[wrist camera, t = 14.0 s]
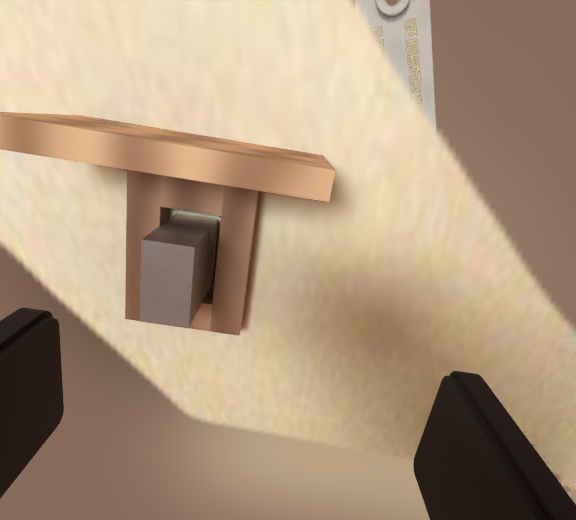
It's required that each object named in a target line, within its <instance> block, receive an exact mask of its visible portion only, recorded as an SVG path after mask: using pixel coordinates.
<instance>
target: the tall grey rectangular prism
mask: <svg viewBox="0 0 576 520" xmlns="http://www.w3.org/2000/svg"><path fill="white" fill-rule="evenodd" d="M217 224H218V219H214V218H207V217H201V216H194V215H187V214H181V213H176V214H175V215H174V216H172V217H171V218H169V219H168V220H167V221H165V222H164V223H163V224H161V225H160V226H159V227H157V228H156V229H155V230H153V231H152V232H151V233H149V234H148V235H147V236H145V237H144V238H143V239H141V282H140V321H142V322H149V323H156V324H163V325H170V326H177V327H184V328H189V327H190V325H191V323H192V321H193V319H194V318H195V316H196V314H197V312H198V310H199V308H200V306H201V304H202V302H203V300H204V299H205V297H206V295H207V293H208V291H209V289H210V287H211V285H212V279H213V268H214V257H215V246H216V235H217Z"/></svg>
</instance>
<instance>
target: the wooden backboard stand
mask: <svg viewBox="0 0 576 520" xmlns="http://www.w3.org/2000/svg"><path fill="white" fill-rule="evenodd" d="M0 149H2V150H8V151H14V152H21V153H27V154H33V155H39V156H46V157H52V158H58V159H64V160H71V161H77V162H83V163H89V164H95V165H102V166H108V167H114V168H120V169H127V227H126V308H125V319H130V320H137V321H140V282H141V239H143V238H144V237H145V236H147V235H148V234H149V233H151V232H152V231H153V230H155V229H156V228H157V227H159V226H160V225H161V224H163V223H164V222H165V221H167V220H168V212H169V208H172V209H178V210H185V211H191V212H197V213H204V214H210V215H217V216H221V222H220V232H219V242H218V252H217V262H216V273H215V283H214V293H207V295H206V297H205V299H204V300H203V302H202V304H201V306H200V308H199V310H198V312H197V314H196V316H195V318H194V319H193V321H192V323H191V325H190V327H189V328H192V329H198V330H205V331H212V332H219V333H226V334H232V335H239V334H240V330H241V327H242V323H243V315H244V308H245V300H246V292H247V285H248V277H249V270H250V262H251V254H252V247H253V239H254V232H255V224H256V216H257V209H258V201H259V193H260V191H264V192H270V193H276V194H282V195H289V196H295V197H301V198H307V199H313V200H320V201H326V202H329V201H330V195H331V190H332V185H333V180H334V175H335V169H334V168H333V167H332V166H331V165H330V163H329V162H328V161H327V160H326V159H325V158H324V157H323V155H317V154H311V153H305V152H299V151H293V150H286V149H280V148H274V147H268V146H262V145H256V144H250V143H244V142H238V141H232V140H226V139H220V138H214V137H208V136H202V135H195V134H189V133H183V132H177V131H171V130H165V129H159V128H153V127H147V126H141V125H135V124H129V123H123V122H117V121H110V120H104V119H98V118H92V117H86V116H78V115H55V114H32V113H9V112H0Z"/></svg>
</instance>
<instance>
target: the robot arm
mask: <svg viewBox="0 0 576 520" xmlns="http://www.w3.org/2000/svg"><path fill="white" fill-rule="evenodd" d="M62 389H63V388H62V370H61V352H60V334H59V322H58V320H57V319H55V318H53V316H52V314H51V313H50V312H49V311H43V310H36V309H30V308H21V309H18V310H16V311H15V312H13V313H12V314H11V315H9V316H7V317H6V318H4V319H3V320H1V321H0V498H1V496H3V494H4V493H5V492H6V490H7V489H8V488H9V487H10V485H11V484H12V483H13V482H14V480H15V479H16V478H17V477H18V475H19V474H20V473H21V472H22V470H23V469H24V468H25V467H26V465H27V464H28V463H29V461H30V460H31V459H32V458H33V456H34V455H35V454H36V452H37V451H38V450H39V448H41V446H42V445H43V444H44V443H45V441H46V440H47V439H48V437H49V436H50V435H51V434H52V432H53V431H54V430H55V429H56V427H57V426H58V424H59V423H60V421H61V419H62V416H63V410H64V409H63V408H64V406H63V390H62ZM414 473H415V476H416V479H417V482H418V485H419V488H420V491H421V494H422V497H423V500H424V502H425V506H426V508H427V512H428V515H429V518H430V520H576V505H575V503H574V502H573V500H572V491H571V490H570V488H569V487H567V486H562V485H561V484H560V483H559V481H558V480H557V479H556V477H555V476H554V475H553V473H552V472H551V470H550V469H549V468H548V466H547V465H546V464H545V462H544V461H543V460H542V458H541V457H540V456H539V454H538V453H537V451H536V450H535V449H534V447H533V446H532V445H531V443H530V442H529V441H528V439H527V438H526V437H525V435H524V434H523V432H522V431H521V430H520V428H519V427H518V426H517V424H516V423H515V422H514V420H513V419H512V418H511V416H510V415H509V413H508V412H507V411H506V409H505V408H504V407H503V405H502V404H501V403H500V401H499V400H498V399H497V397H496V396H495V395H494V393H493V392H492V390H491V389H490V388H489V386H488V385H487V384H486V382H485V381H484V380H483V378H482V377H481V376H480V375H478V374H473V373H467V372H460V371H453V372H452V373H451V374H450V375H449V376H445V377H444V378H443V379H442V381H441V384H440V387H439V390H438V393H437V396H436V398H435V401H434V404H433V407H432V410H431V412H430V415H429V418H428V421H427V424H426V426H425V429H424V432H423V435H422V438H421V441H420V443H419V446H418V449H417V452H416V455H415V458H414Z"/></svg>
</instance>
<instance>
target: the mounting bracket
mask: <svg viewBox="0 0 576 520" xmlns="http://www.w3.org/2000/svg"><path fill="white" fill-rule="evenodd" d="M355 4H356V5H357V7H358V10H359V12H360V14H361V15H362V17H363V18H364V19H365V21H366V24H367V26H368V28H369V30H370V31H371V32H372V34H373V36H374V38H375V41H376V43H377V44H378V45H379V47H380V48H381V51H382V53H383V55H384V56H385V57H386V59H387V61H388V62H389V64H390V66H391V68H392V69H393V70H394V72H395V74H396V76H397V77H398V78H399V79H400V80H401V82H402V83H403V85H404V87H405V88H406V89H407V90H408V92H409V94H410V96H411V97H412V98H413V99H414V101H415V102H416V104H417V106H418V107H419V108H420V109H421V111H422V113H423V114H424V116H425V117H426V118H427V119H428V120H429V122H430V124H431V125H432V126H433V127H434V129H435V131H436V118H435V99H434V77H433V58H432V38H431V18H430V0H399V1H398V3H397V4H396V5H393V6H391V5H388V4H387V2H386V0H355Z"/></svg>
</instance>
